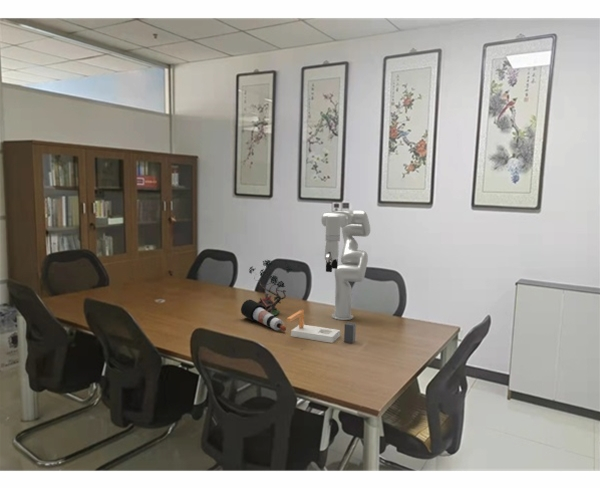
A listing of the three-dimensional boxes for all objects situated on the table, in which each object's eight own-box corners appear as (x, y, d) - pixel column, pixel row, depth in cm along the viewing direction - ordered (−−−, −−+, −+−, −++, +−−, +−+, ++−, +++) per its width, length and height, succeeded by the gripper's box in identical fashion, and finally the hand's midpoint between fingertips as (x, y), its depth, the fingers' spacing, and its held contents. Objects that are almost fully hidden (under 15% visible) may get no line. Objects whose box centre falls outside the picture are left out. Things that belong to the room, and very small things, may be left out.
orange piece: (300, 326, 242) (300, 309, 240) (304, 327, 241) (304, 310, 240) (286, 336, 226) (286, 318, 225) (290, 336, 225) (290, 318, 224)
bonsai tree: (300, 312, 285) (301, 260, 281) (273, 320, 266) (274, 265, 262) (258, 301, 307) (259, 254, 302) (231, 308, 288) (231, 258, 284)
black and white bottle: (280, 341, 244) (274, 327, 239) (244, 319, 269) (238, 306, 264) (294, 330, 249) (289, 315, 244) (257, 309, 274) (252, 296, 269)
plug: (346, 341, 234) (347, 321, 232) (354, 342, 232) (355, 323, 231) (343, 344, 229) (344, 324, 228) (352, 345, 228) (353, 325, 227)
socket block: (300, 331, 247) (300, 324, 247) (339, 337, 239) (340, 330, 238) (290, 338, 236) (291, 330, 236) (332, 344, 228) (332, 336, 227)
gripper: (330, 235, 254) (330, 266, 257) (320, 239, 238) (319, 272, 241) (344, 236, 252) (343, 267, 254) (334, 240, 236) (333, 273, 238)
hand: (331, 270), depth 248 cm, fingers open, 9 cm apart
